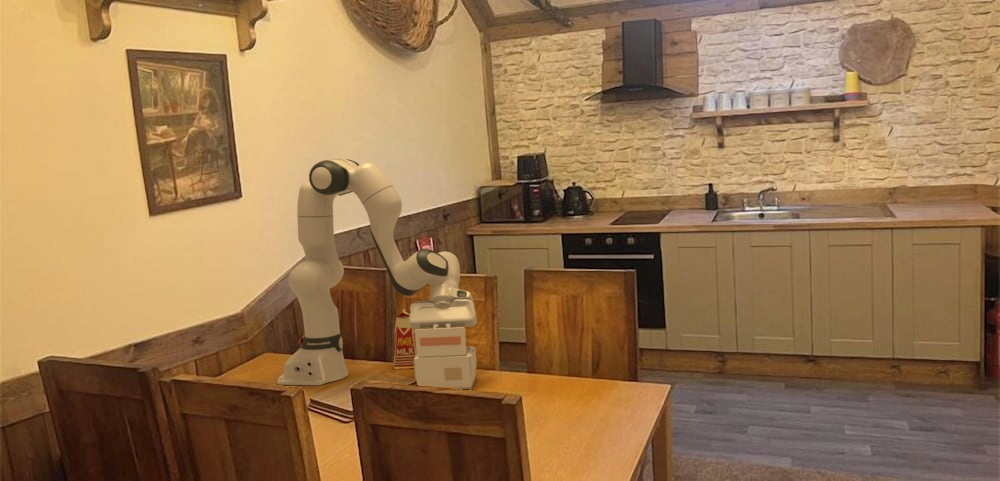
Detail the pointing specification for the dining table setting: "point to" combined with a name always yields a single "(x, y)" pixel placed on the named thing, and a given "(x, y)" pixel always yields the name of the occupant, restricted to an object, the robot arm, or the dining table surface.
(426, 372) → the carton
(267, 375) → the dining table surface
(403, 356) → the milk carton
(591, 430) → the dining table surface
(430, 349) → the flap
